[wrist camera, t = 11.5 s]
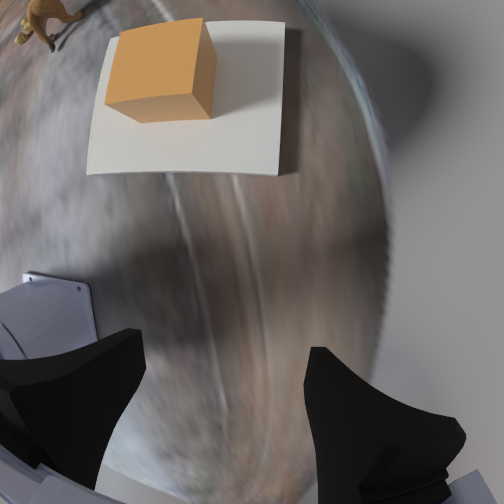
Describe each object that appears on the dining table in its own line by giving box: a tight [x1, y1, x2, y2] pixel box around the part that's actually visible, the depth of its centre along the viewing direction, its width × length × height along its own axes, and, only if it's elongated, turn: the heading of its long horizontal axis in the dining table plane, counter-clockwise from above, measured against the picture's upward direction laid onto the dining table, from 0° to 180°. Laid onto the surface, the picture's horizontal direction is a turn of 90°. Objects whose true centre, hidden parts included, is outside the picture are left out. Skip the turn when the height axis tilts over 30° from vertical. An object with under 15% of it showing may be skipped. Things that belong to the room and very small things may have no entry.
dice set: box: [15, 16, 48, 45], centre depth 14 cm, size 5×5×2 cm
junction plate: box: [86, 21, 285, 177], centre depth 15 cm, size 14×12×5 cm
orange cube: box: [104, 18, 217, 124], centre depth 13 cm, size 5×5×5 cm
